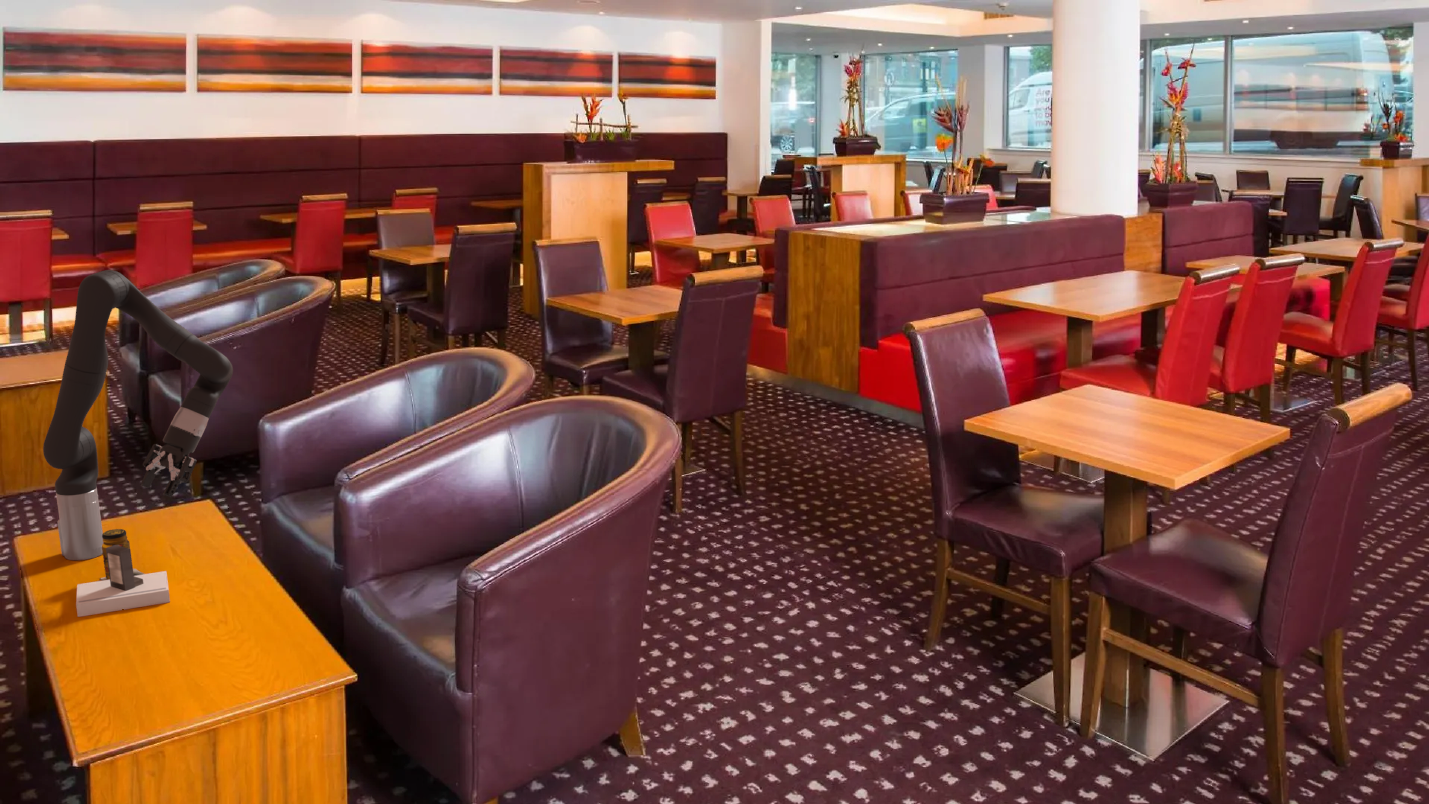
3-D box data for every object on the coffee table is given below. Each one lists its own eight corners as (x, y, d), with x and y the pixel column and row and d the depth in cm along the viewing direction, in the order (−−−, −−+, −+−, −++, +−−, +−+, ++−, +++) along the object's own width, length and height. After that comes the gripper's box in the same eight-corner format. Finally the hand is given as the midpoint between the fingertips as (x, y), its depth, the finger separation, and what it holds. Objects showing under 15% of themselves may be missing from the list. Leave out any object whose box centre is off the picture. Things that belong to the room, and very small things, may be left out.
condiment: (99, 579, 293) (93, 532, 290) (134, 569, 299) (128, 523, 297) (113, 586, 289) (106, 539, 286) (148, 576, 295) (142, 529, 292)
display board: (77, 616, 271) (76, 604, 271) (79, 596, 283) (77, 584, 282) (170, 602, 279) (168, 589, 279) (167, 582, 291) (166, 570, 290)
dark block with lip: (110, 586, 280) (105, 548, 278) (129, 579, 285) (124, 541, 282) (124, 591, 278) (120, 552, 276) (144, 584, 282) (139, 545, 280)
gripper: (155, 417, 293) (124, 479, 290) (193, 431, 286) (162, 494, 283) (179, 428, 300) (149, 488, 296) (216, 441, 293) (186, 503, 289)
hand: (155, 491), depth 290 cm, fingers open, 8 cm apart
